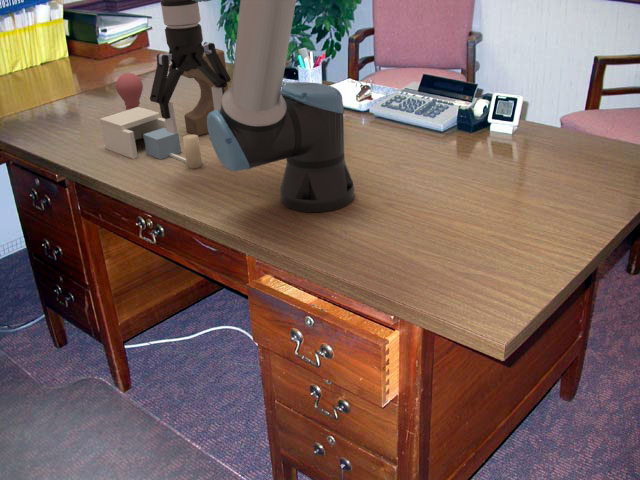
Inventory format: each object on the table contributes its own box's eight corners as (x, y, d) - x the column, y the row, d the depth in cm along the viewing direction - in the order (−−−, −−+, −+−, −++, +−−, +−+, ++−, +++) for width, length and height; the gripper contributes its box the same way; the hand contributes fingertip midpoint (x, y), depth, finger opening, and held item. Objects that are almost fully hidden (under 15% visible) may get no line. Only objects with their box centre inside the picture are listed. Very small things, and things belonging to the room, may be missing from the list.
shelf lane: (105, 148, 177) (99, 118, 173) (143, 135, 184) (138, 106, 180) (133, 158, 169) (128, 128, 166) (172, 144, 177) (167, 115, 173)
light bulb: (141, 120, 195) (134, 77, 189) (117, 119, 196) (109, 77, 190) (151, 112, 201) (144, 70, 195) (127, 111, 202) (120, 70, 197)
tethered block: (146, 153, 172) (141, 126, 169) (167, 146, 176) (163, 119, 172) (188, 171, 161) (184, 142, 157) (209, 163, 164) (205, 135, 161)
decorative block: (196, 137, 181) (185, 58, 171) (185, 131, 185) (174, 54, 175) (233, 127, 187) (225, 50, 177) (222, 121, 191) (213, 47, 181)
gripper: (216, 13, 157) (228, 107, 167) (121, 34, 141) (139, 136, 150) (239, 16, 152) (249, 111, 162) (143, 37, 136) (161, 142, 146)
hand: (196, 123), depth 156 cm, fingers open, 13 cm apart
